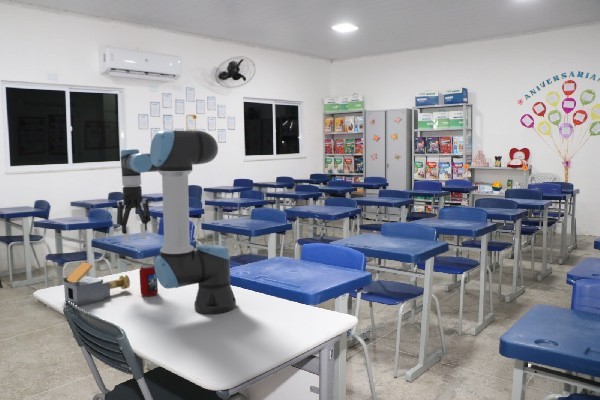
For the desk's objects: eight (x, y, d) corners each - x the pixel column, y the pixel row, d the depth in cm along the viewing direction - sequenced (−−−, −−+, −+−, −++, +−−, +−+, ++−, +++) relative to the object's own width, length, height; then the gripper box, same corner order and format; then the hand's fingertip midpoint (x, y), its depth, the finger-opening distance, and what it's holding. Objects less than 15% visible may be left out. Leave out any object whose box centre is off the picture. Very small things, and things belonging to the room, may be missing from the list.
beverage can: (155, 296, 195) (153, 267, 194) (138, 297, 195) (136, 267, 194) (160, 292, 202) (158, 263, 201) (144, 292, 202) (142, 264, 201)
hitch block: (113, 298, 195) (111, 274, 194) (77, 307, 184) (75, 282, 183) (99, 292, 203) (98, 270, 202) (64, 301, 193) (62, 277, 192)
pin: (123, 286, 207) (123, 273, 207) (130, 289, 203) (129, 276, 203) (86, 295, 196) (85, 281, 195) (92, 298, 192) (91, 284, 191)
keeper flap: (93, 266, 190) (91, 264, 190) (76, 284, 186) (74, 282, 185) (84, 263, 196) (82, 261, 195) (67, 280, 191) (66, 279, 191)
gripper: (148, 184, 214) (151, 235, 217) (105, 187, 200) (108, 242, 202) (157, 184, 209) (160, 237, 211) (113, 187, 195) (117, 244, 197)
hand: (135, 239), depth 207 cm, fingers open, 7 cm apart
